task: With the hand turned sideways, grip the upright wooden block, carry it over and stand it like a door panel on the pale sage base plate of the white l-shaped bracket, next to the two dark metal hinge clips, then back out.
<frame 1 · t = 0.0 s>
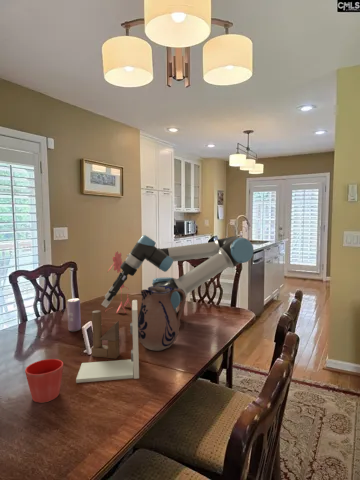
hand: (105, 302, 151), 15 cm above the table, tool tilted 35°, fingers open, 13 cm apart
white l-shaped bracket: (110, 372, 115), on the table
wooden block: (105, 356, 128), on the table
ceramic pitcher: (161, 346, 137), on the table
figurine: (118, 310, 190), on the table
flower pot: (46, 396, 100), on the table
beverage can: (74, 329, 158), on the table
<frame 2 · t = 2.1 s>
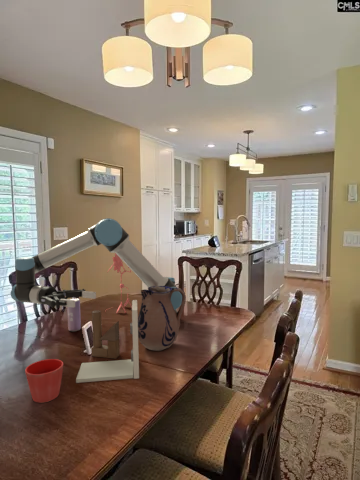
hand: (85, 299, 129), 22 cm above the table, tool horizontal, fingers open, 13 cm apart
nothing on the table moved.
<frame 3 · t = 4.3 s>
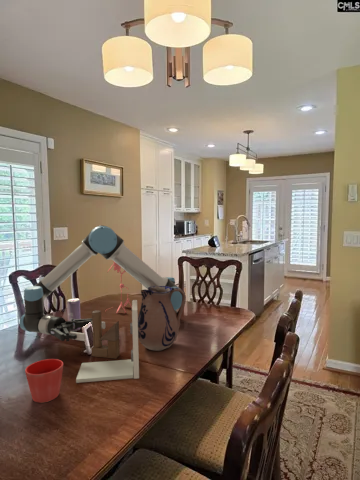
hand: (95, 331, 128), 10 cm above the table, tool horizontal, fingers open, 13 cm apart
nothing on the table moved.
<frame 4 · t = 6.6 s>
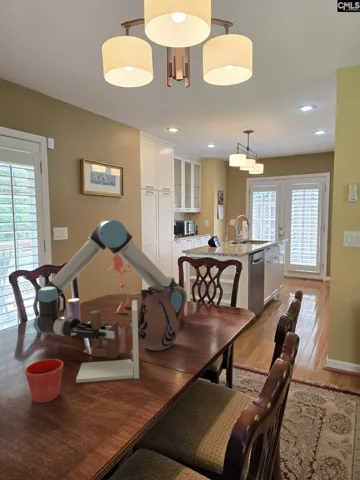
hand: (116, 332, 126), 10 cm above the table, tool horizontal, fingers closed on wooden block, 4 cm apart
wooden block: (105, 356, 128), on the table, touching gripper
everything else where it was.
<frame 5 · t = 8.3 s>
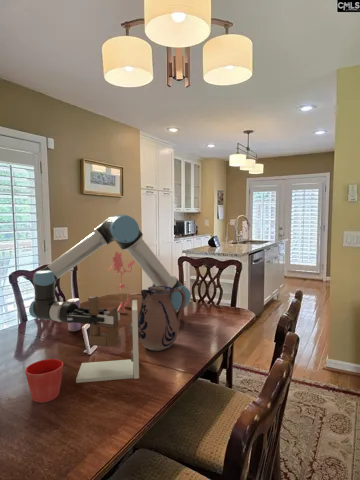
hand: (115, 318, 118), 18 cm above the table, tool horizontal, fingers closed on wooden block, 3 cm apart
wooden block: (104, 344, 120), point 8 cm above the table, touching gripper
everything else where it was.
when the fingers open (13 cm above the table, at t = 10.3 s): wooden block drops 1 cm, resting on white l-shaped bracket.
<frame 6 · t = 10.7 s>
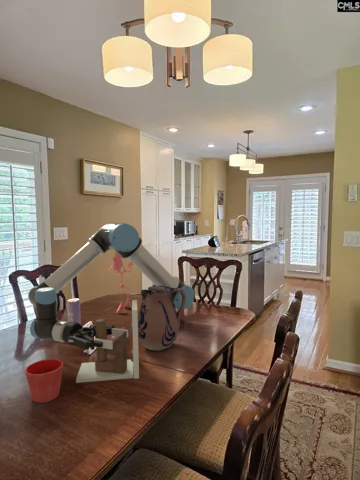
hand: (120, 339, 112), 13 cm above the table, tool horizontal, fingers open, 10 cm apart
wooden block: (111, 370, 114), point 1 cm above the table, touching white l-shaped bracket
everything else where it was.
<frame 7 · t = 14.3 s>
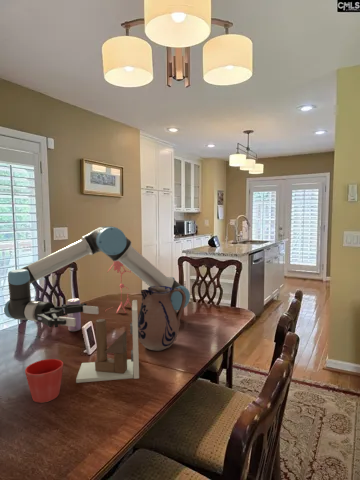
hand: (87, 316, 116), 20 cm above the table, tool horizontal, fingers open, 13 cm apart
nothing on the table moved.
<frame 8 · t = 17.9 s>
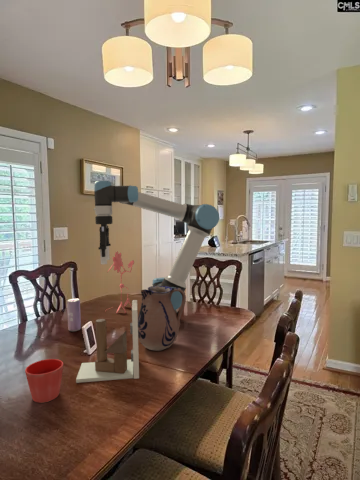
hand: (105, 262, 147), 35 cm above the table, tool pointing down, fingers open, 13 cm apart
nothing on the table moved.
at the end: wooden block inside the target area (1.0 cm from its centre), point 1.0 cm above the table; wooden block tilted 0°; the gripper is holding nothing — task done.
